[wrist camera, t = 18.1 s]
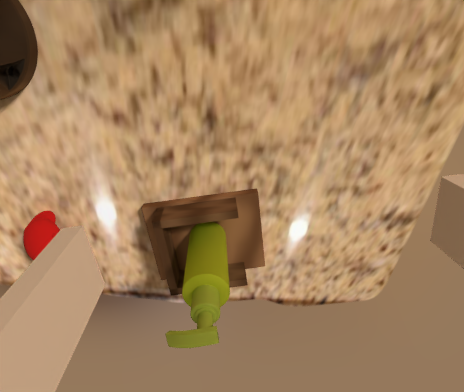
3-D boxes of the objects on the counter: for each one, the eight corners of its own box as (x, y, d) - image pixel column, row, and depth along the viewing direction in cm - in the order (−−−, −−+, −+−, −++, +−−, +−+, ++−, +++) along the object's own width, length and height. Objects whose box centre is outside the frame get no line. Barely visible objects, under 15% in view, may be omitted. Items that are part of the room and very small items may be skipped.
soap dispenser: (180, 224, 49) (160, 323, 31) (223, 219, 49) (229, 315, 31) (186, 254, 51) (171, 363, 33) (227, 249, 51) (235, 356, 33)
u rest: (162, 274, 55) (157, 298, 49) (143, 203, 49) (134, 222, 43) (263, 260, 55) (269, 283, 49) (256, 188, 49) (262, 205, 43)
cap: (80, 260, 49) (63, 243, 44) (40, 276, 47) (18, 261, 42) (71, 220, 53) (55, 201, 48) (33, 234, 51) (13, 215, 46)
